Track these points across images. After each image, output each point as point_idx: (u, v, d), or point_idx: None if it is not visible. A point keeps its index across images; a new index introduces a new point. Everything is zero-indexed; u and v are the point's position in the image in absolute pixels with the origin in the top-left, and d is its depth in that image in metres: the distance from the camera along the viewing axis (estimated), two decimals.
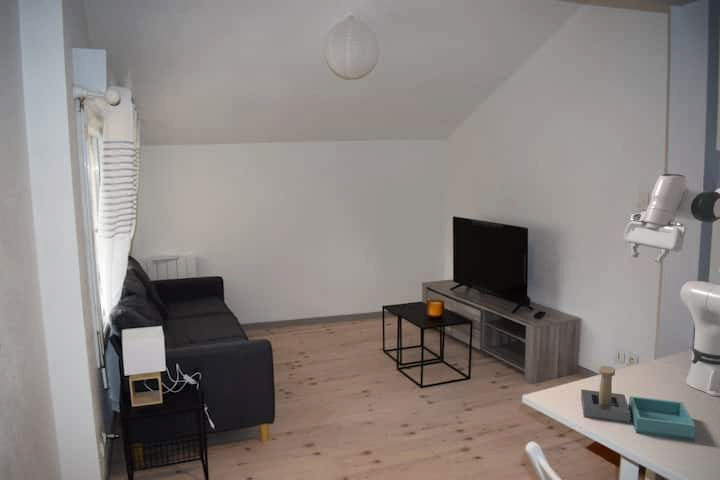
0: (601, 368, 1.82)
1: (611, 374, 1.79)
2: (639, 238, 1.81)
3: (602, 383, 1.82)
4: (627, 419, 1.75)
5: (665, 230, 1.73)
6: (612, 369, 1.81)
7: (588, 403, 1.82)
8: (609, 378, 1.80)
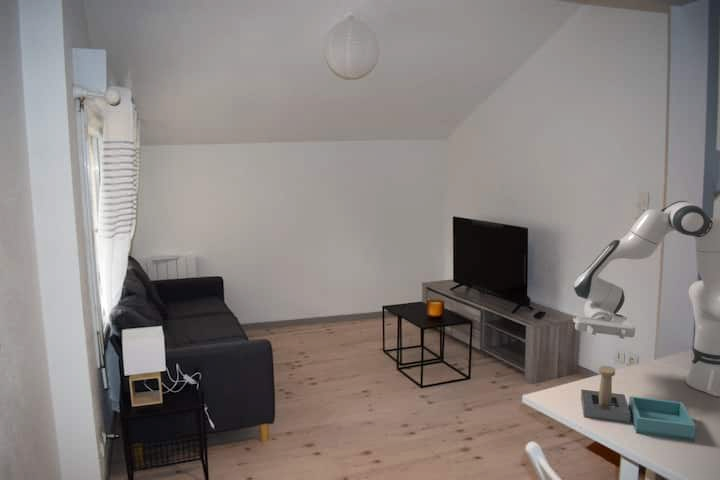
0: (601, 368, 1.82)
1: (611, 374, 1.79)
2: None
3: (602, 383, 1.82)
4: (627, 419, 1.75)
5: None
6: (612, 369, 1.81)
7: (588, 403, 1.82)
8: (609, 378, 1.80)
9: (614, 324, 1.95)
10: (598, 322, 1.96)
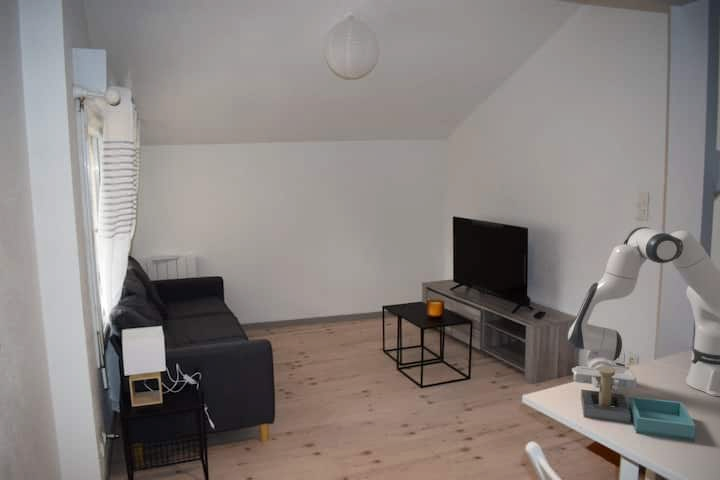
0: (601, 368, 1.82)
1: (611, 374, 1.79)
2: None
3: (602, 383, 1.82)
4: (627, 419, 1.75)
5: None
6: (612, 369, 1.81)
7: (588, 403, 1.82)
8: (609, 378, 1.80)
9: (614, 375, 1.87)
10: (597, 373, 1.88)
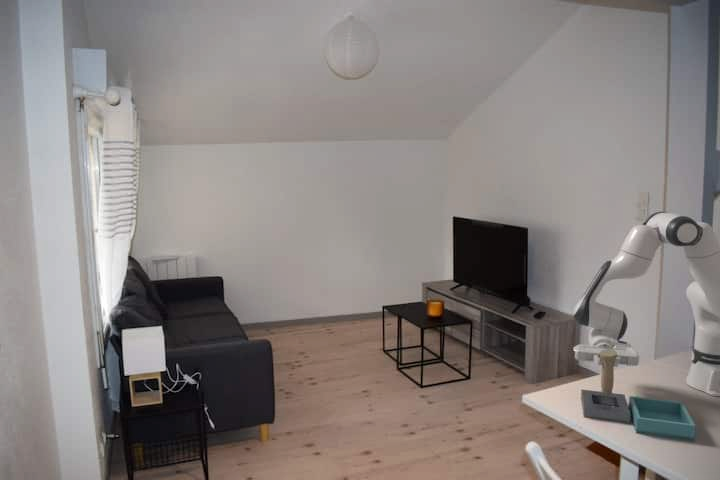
0: (602, 351, 1.81)
1: (611, 358, 1.77)
2: None
3: (603, 366, 1.81)
4: (627, 419, 1.75)
5: None
6: (614, 353, 1.80)
7: (588, 403, 1.82)
8: (610, 362, 1.79)
9: None
10: (599, 350, 1.87)
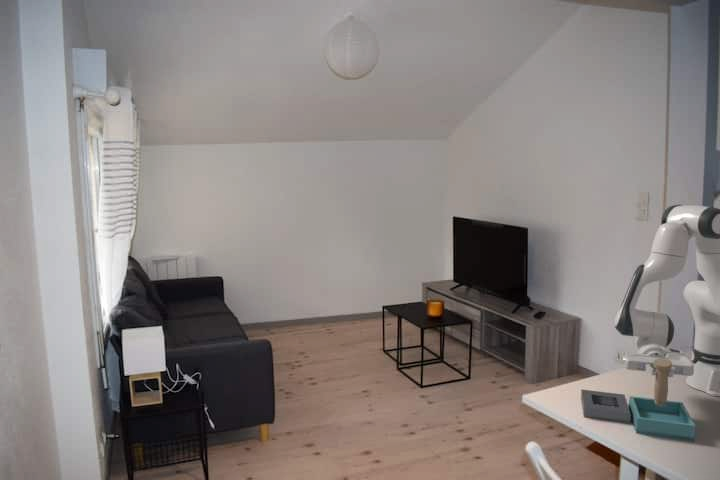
0: (656, 360, 1.72)
1: (666, 368, 1.68)
2: None
3: (657, 377, 1.71)
4: (627, 419, 1.75)
5: None
6: (668, 362, 1.70)
7: (588, 403, 1.82)
8: (665, 372, 1.70)
9: None
10: (651, 359, 1.78)
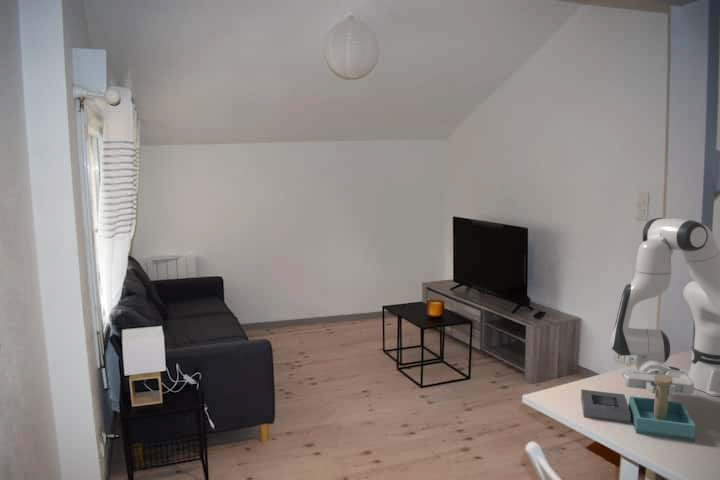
0: (657, 376, 1.73)
1: (667, 384, 1.69)
2: None
3: (657, 392, 1.72)
4: (627, 419, 1.75)
5: None
6: (669, 378, 1.71)
7: (588, 403, 1.82)
8: (665, 388, 1.70)
9: None
10: (651, 377, 1.78)
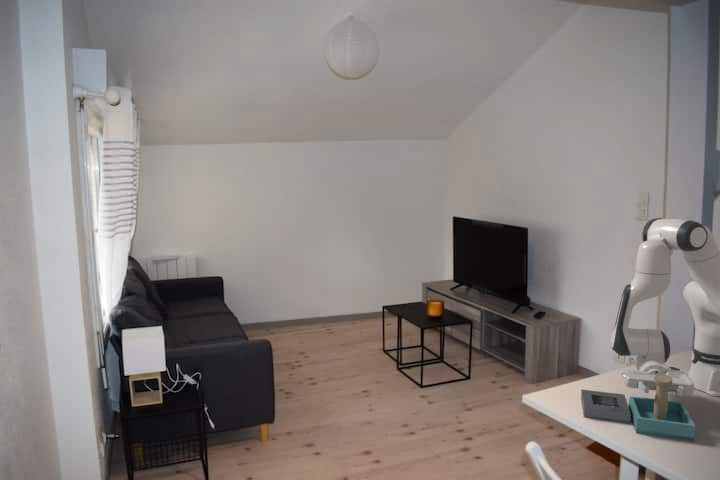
0: (657, 376, 1.73)
1: (667, 383, 1.69)
2: None
3: (657, 392, 1.72)
4: (627, 419, 1.75)
5: None
6: (669, 378, 1.71)
7: (588, 403, 1.82)
8: (665, 387, 1.70)
9: None
10: (651, 377, 1.78)
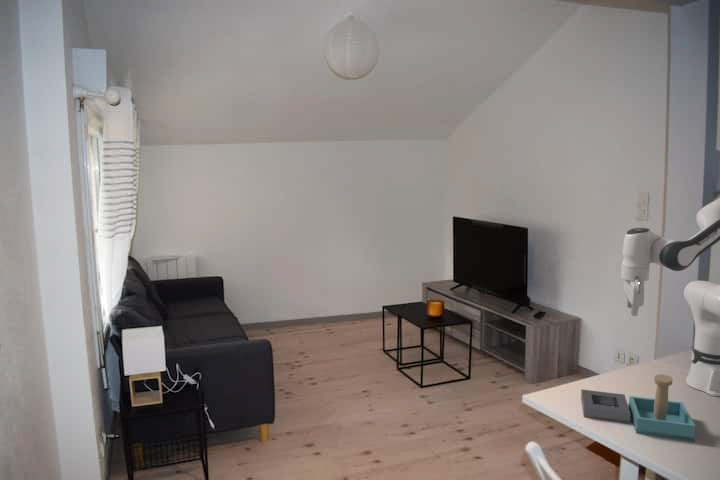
0: (657, 376, 1.73)
1: (667, 383, 1.69)
2: (626, 291, 1.94)
3: (657, 392, 1.72)
4: (627, 419, 1.75)
5: (630, 286, 1.86)
6: (669, 378, 1.71)
7: (588, 403, 1.82)
8: (665, 388, 1.70)
9: None
10: None
